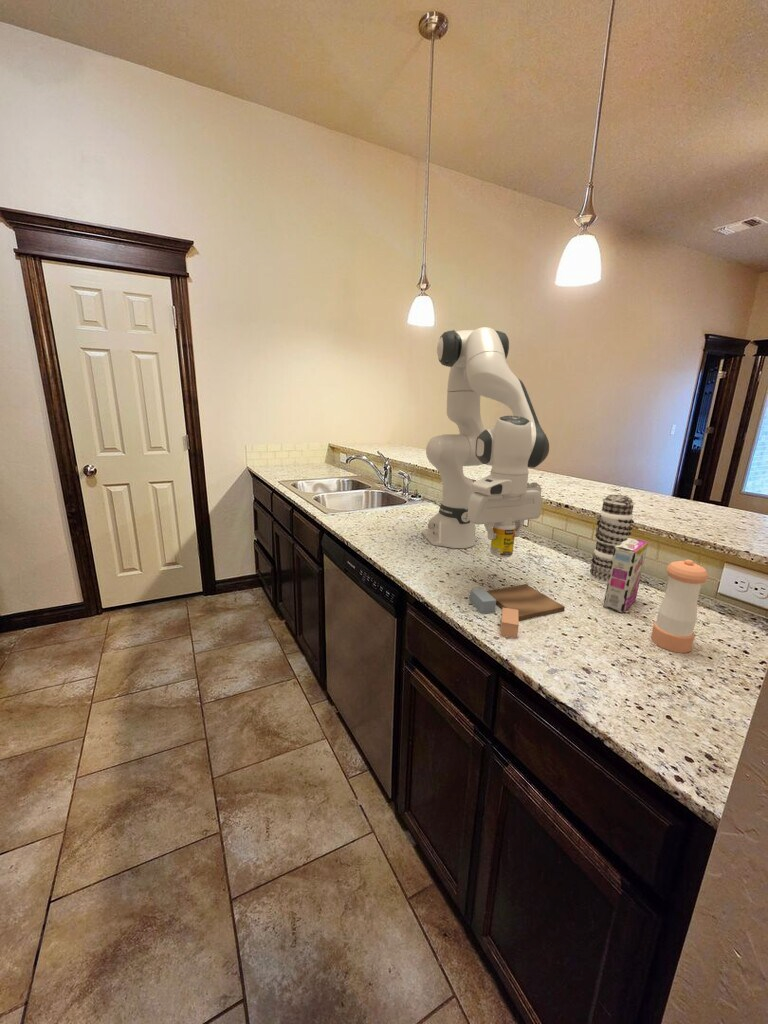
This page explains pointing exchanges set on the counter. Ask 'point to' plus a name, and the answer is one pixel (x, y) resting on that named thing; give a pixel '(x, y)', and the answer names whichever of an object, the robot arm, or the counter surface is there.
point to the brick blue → (482, 601)
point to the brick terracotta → (509, 622)
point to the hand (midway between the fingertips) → (502, 537)
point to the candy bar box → (625, 574)
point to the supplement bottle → (503, 539)
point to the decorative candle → (610, 534)
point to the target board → (525, 601)
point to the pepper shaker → (679, 607)
